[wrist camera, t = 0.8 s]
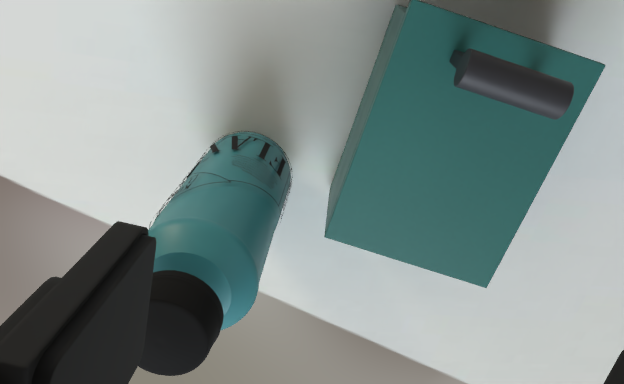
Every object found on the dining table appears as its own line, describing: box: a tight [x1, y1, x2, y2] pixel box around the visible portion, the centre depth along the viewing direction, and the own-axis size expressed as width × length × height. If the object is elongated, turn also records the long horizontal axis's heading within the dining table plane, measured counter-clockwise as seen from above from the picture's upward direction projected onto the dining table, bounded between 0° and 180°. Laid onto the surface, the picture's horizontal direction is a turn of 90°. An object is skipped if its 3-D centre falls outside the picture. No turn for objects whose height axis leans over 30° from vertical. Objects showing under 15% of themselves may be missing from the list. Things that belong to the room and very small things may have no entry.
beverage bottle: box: [138, 131, 293, 376], centre depth 30 cm, size 6×7×20 cm
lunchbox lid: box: [325, 0, 605, 288], centre depth 28 cm, size 14×11×5 cm
